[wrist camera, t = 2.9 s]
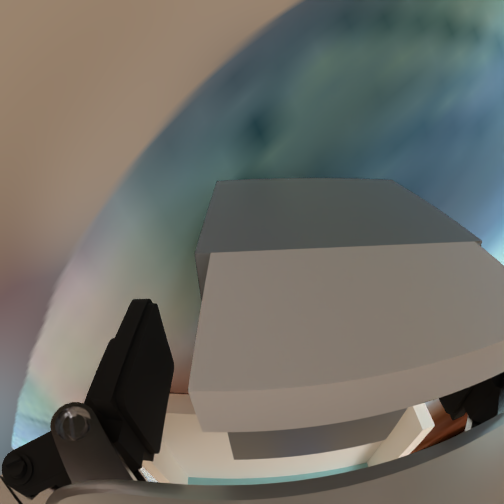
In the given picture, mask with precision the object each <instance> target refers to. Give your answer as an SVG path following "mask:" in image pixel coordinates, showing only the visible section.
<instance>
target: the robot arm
mask: <svg viewBox="0 0 504 504" xmlns="http://www.w3.org/2000/svg"><path fill="white" fill-rule="evenodd" d="M173 372H174V362H173V358H172V355H171V352H170V348H169V345H168V342H167V338H166V335H165V331H164V327H163V324H162V320H161V316H160V312H159V309H158V305H157V304H156V303H152V301H151V300H150V299H133V300H132V302H131V304H130V306H129V308H128V310H127V312H126V314H125V317H124V319H123V321H122V323H121V325H120V328H119V330H118V332H117V334H116V337H115V338H113V339H111V340H110V342H109V343H108V346H107V348H106V350H105V353H104V355H103V357H102V360H101V362H100V364H99V367H98V369H97V371H96V374H95V376H94V379H93V381H92V384H91V386H90V389H89V391H88V394H87V396H86V399H85V402H84V404H83V403H79V402H72V403H69V404H65V405H64V406H62V407H60V408H59V409H58V410H57V411H56V412H55V413H54V415H53V417H52V419H51V425H50V427H51V431H50V432H48V433H46V434H44V435H42V436H40V437H38V438H37V439H35V440H33V441H31V442H29V443H27V444H25V445H23V446H21V447H19V448H17V449H15V450H13V451H11V452H10V453H8V454H7V456H6V457H5V458H4V461H3V464H2V475H0V504H504V372H502V373H500V374H498V375H496V376H494V377H491V378H489V379H487V380H485V381H482V382H480V383H478V384H475V385H473V386H470V387H468V388H465V389H463V390H460V391H457V392H455V393H452V394H449V395H446V396H443V397H440V398H439V400H440V402H441V404H442V405H443V407H444V409H445V411H446V413H448V414H450V416H451V418H452V420H455V419H457V418H459V417H462V416H463V415H464V414H465V413H466V412H467V414H468V418H467V423H466V428H465V432H464V433H462V434H459V435H457V436H455V437H453V438H451V439H448V440H446V441H444V442H441V443H439V444H436V445H434V446H431V447H429V448H426V449H423V450H421V451H418V452H415V453H412V454H409V455H407V456H404V457H401V458H397V459H394V460H391V461H388V462H384V463H381V464H377V465H374V466H370V467H366V468H362V469H358V470H354V471H349V472H345V473H340V474H335V475H329V476H324V477H318V478H312V479H305V480H298V481H289V482H280V483H268V484H252V485H188V484H173V483H159V482H148V480H147V479H146V477H145V476H144V475H143V473H142V472H141V470H140V468H142V462H143V460H145V461H153V460H154V454H158V453H159V452H160V448H161V441H162V435H163V429H164V422H165V416H166V410H167V405H168V399H169V393H170V388H171V382H172V377H173Z"/></svg>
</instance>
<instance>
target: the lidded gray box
mask: <svg viewBox="0 0 504 504" xmlns="http://www.w3.org/2000/svg"><path fill="white" fill-rule="evenodd" d="M481 243H482V241H481V240H480V239H479V238H477V237H476V236H475V235H474V234H472V233H471V232H470V231H468V230H467V229H466V228H464V227H463V226H461V225H460V224H459V223H457V222H456V221H455V220H453V219H452V218H450V217H449V216H447V215H446V214H445V213H443V212H442V211H440V210H439V209H437V208H436V207H434V206H433V205H431V204H430V203H428V202H427V201H425V200H424V199H422V198H420V197H419V196H417V195H416V194H414V193H413V192H411V191H409V190H408V189H406V188H404V187H403V186H401V185H399V184H398V183H396V182H394V181H393V180H385V179H358V178H273V179H244V180H224V181H217V182H216V185H215V188H214V191H213V195H212V198H211V201H210V204H209V207H208V210H207V214H206V217H205V220H204V223H203V227H202V230H201V233H200V237H199V240H198V243H197V247H196V250H195V261H196V268H197V274H198V281H199V288H200V294H201V300H202V303H201V309H200V315H199V321H198V327H197V333H196V340H195V346H194V352H193V359H192V366H191V372H190V379H189V386H188V393H189V396H190V399H191V402H192V404H193V407H194V410H195V413H196V416H197V418H198V421H199V424H200V426H201V429H202V432H227V433H228V437H229V442H230V446H231V450H232V454H233V458H234V460H251V459H270V458H283V457H294V456H302V455H310V454H318V453H324V452H331V451H336V450H342V449H347V448H352V447H357V446H362V445H366V444H370V443H375V442H379V441H382V440H386V439H387V437H388V436H389V434H390V433H391V432H392V430H393V429H394V427H395V426H396V424H397V423H398V422H399V420H400V419H401V417H402V416H403V414H404V413H405V411H406V410H407V408H408V407H411V406H415V405H418V404H422V403H425V402H428V401H431V400H434V399H437V398H440V397H443V396H446V395H449V394H452V393H455V392H457V391H460V390H463V389H465V388H468V387H470V386H473V385H475V384H478V383H480V382H482V381H485V380H487V379H489V378H491V377H494V376H496V375H498V374H500V373H502V372H504V266H503V265H502V264H501V263H500V262H499V261H498V260H497V259H495V258H494V257H493V256H492V255H491V254H489V253H488V252H487V251H486V250H485V249H483V248H482V247H481Z"/></svg>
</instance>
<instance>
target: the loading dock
mask: <svg viewBox="0 0 504 504" xmlns="http://www.w3.org/2000/svg"><path fill="white" fill-rule="evenodd" d="M434 426H435V425H434V422H433V420H432V418H431V415H430V413H429V411H428V409H427V407H426V404H425V403H422V404H418V405H415V406H411V407H408V408H407V410H406V411H405V413H404V414H403V416H402V417H401V419H400V420H399V422H398V423H397V424H396V426H395V427H394V429H393V430H392V432H391V433H390V434H389V436H388V437H387V439H386V440H382V441H379V442H375V443H370V444H366V445H362V446H357V447H352V448H347V449H342V450H336V451H331V452H324V453H318V454H310V455H302V456H294V457H283V458H270V459H251V460H234V458H233V454H232V450H231V446H230V442H229V437H228V433H227V432H202V429H201V426H200V424H199V421H198V418H197V416H196V413H195V410H194V407H193V404H192V402H191V399H190V396H189V394H169V399H168V405H167V410H166V416H165V422H164V429H163V435H162V441H161V448H160V452H159V453H158V454H154V460H153V461H145V460H143V462H142V466H143V467H144V468H145V469H146V470H147V471H148V472H149V473H150V474H151V475H152V476H153V477H154V478H155V479H156V480H157V481H158V482H159V483H173V484H188V485H252V484H268V483H280V482H289V481H298V480H305V479H312V478H318V477H324V476H329V475H335V474H340V473H345V472H349V471H354V470H358V469H362V468H366V467H370V466H374V465H377V464H381V463H384V462H388V461H391V460H394V459H397V458H401V457H404V456H407V455H409V454H410V453H411V452H412V451H413V450H414V449H415V448H416V447H417V445H418V444H419V443H420V442H421V441H422V440H423V439H424V438H425V437H426V435H427V434H428V433H429V432H430V431H431V430H432V428H433V427H434Z"/></svg>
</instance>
